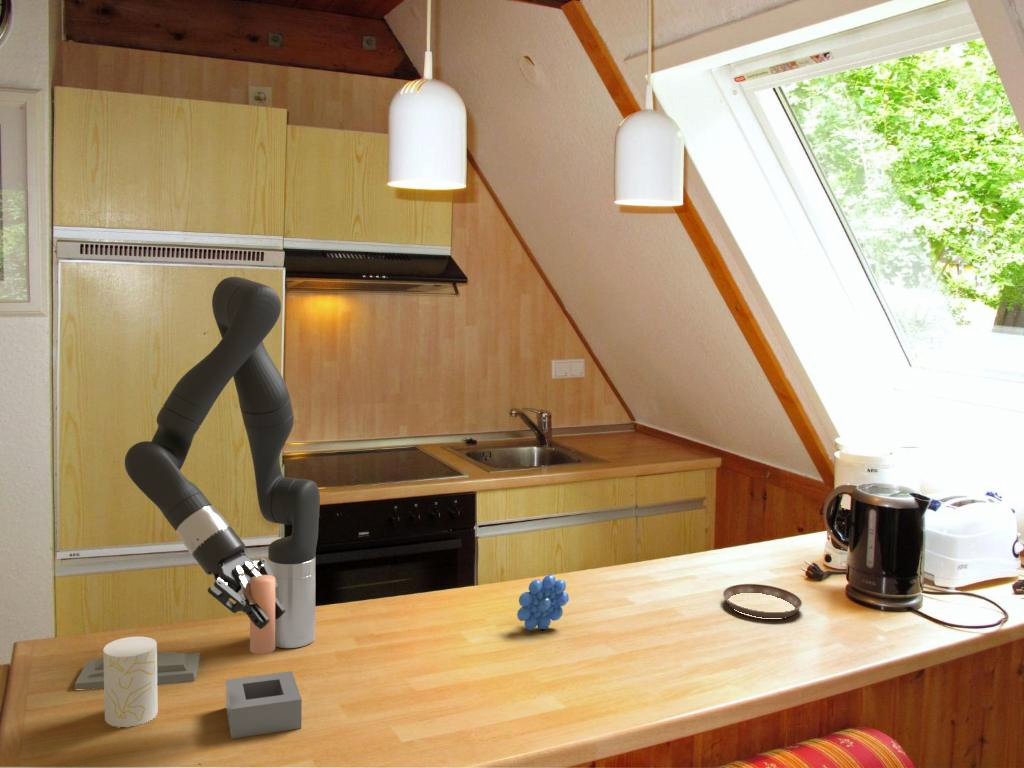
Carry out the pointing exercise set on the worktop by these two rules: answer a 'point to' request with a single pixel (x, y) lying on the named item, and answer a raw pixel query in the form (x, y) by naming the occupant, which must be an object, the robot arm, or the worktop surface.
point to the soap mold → (168, 670)
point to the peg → (265, 598)
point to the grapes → (542, 602)
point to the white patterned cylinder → (130, 681)
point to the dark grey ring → (766, 590)
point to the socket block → (263, 704)
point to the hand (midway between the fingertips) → (273, 620)
